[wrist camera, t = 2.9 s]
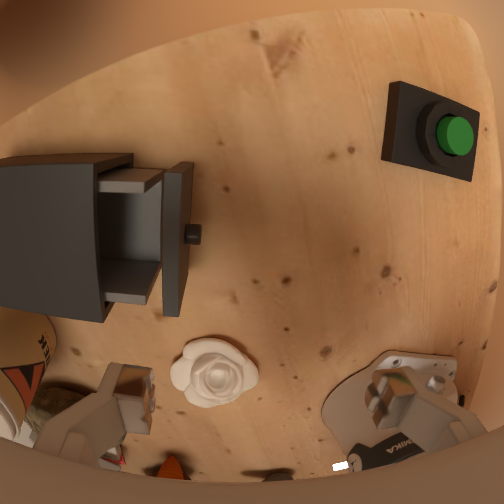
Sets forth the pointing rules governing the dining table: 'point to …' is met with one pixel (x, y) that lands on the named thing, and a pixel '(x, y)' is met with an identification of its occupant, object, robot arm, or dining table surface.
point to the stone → (52, 407)
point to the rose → (213, 372)
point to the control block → (425, 131)
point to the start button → (455, 135)
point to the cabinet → (53, 234)
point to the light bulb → (278, 477)
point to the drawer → (145, 233)
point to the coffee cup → (21, 364)
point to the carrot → (171, 469)
